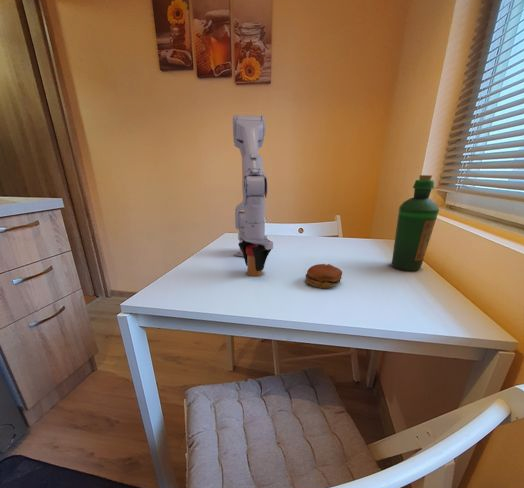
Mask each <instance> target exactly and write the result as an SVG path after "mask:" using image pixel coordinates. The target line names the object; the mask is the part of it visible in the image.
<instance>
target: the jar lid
mask: <svg viewBox="0 0 524 488" xmlns="http://www.w3.org/2000/svg"><path fill="white" fill-rule="evenodd" d="M253 247H258V245H249V246H246V254H247V255H251V256H254V253H253V251H252V248H253Z"/></svg>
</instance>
